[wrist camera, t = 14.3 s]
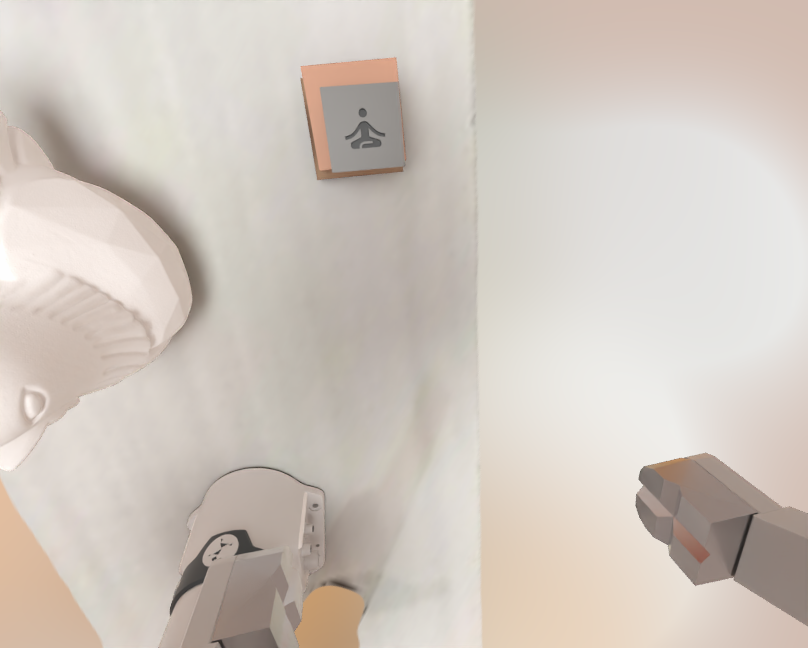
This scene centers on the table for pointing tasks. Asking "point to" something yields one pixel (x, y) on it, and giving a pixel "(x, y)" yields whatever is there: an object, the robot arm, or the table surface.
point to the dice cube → (363, 126)
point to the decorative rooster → (74, 292)
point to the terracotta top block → (338, 77)
